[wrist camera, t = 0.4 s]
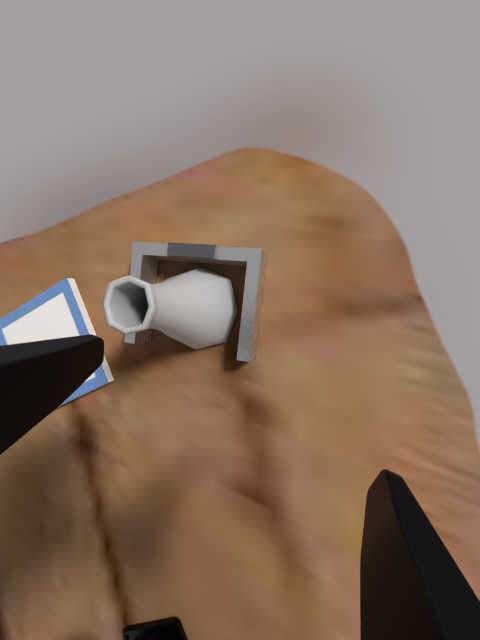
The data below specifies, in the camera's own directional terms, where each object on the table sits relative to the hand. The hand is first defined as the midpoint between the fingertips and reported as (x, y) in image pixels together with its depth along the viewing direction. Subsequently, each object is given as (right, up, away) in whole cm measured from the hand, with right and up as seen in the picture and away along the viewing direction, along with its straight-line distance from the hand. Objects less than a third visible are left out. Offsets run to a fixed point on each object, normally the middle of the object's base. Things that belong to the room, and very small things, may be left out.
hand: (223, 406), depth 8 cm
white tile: (-19, -1, +21) cm, 28 cm away
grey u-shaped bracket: (-3, +4, +16) cm, 17 cm away
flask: (-3, +4, +17) cm, 17 cm away
